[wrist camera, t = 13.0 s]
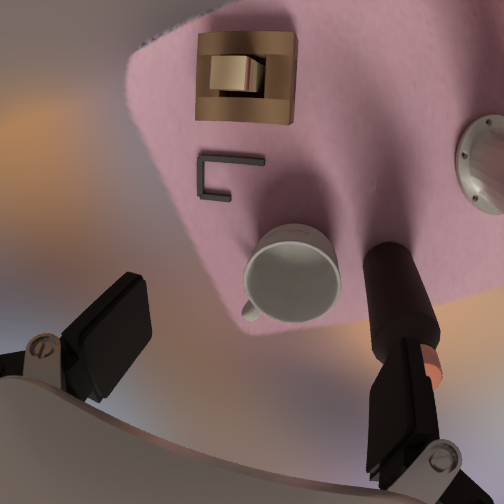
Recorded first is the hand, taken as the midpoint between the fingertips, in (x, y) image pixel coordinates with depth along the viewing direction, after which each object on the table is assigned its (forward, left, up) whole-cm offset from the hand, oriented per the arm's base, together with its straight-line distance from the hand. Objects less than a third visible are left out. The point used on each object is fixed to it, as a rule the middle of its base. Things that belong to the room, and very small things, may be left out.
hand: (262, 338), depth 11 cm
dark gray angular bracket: (+10, +2, -29) cm, 30 cm away
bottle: (-11, +11, -29) cm, 33 cm away
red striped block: (+8, -10, -29) cm, 31 cm away
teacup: (+2, +12, -29) cm, 31 cm away
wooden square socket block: (+8, -10, -29) cm, 31 cm away
